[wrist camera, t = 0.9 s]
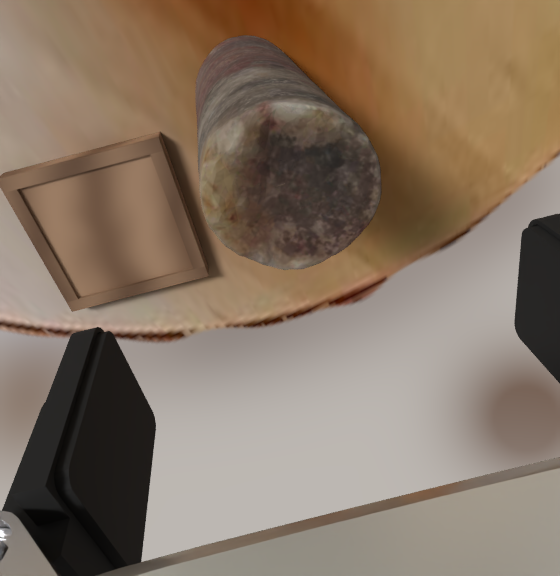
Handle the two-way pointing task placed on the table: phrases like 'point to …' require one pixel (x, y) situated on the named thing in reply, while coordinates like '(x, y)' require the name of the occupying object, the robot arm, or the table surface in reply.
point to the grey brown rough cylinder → (279, 159)
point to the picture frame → (108, 221)
